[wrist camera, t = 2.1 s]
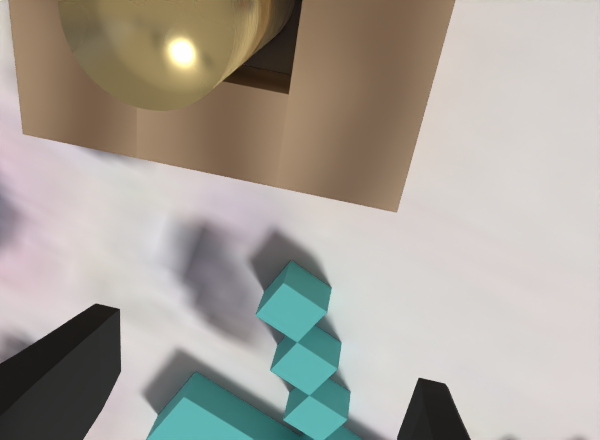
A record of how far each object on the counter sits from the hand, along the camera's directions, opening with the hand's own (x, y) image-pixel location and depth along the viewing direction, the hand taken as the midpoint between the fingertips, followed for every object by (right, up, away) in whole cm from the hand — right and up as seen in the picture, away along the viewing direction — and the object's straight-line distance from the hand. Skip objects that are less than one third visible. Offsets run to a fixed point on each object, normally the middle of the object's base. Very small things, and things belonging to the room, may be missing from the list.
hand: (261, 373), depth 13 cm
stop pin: (-1, +12, +6) cm, 13 cm away
